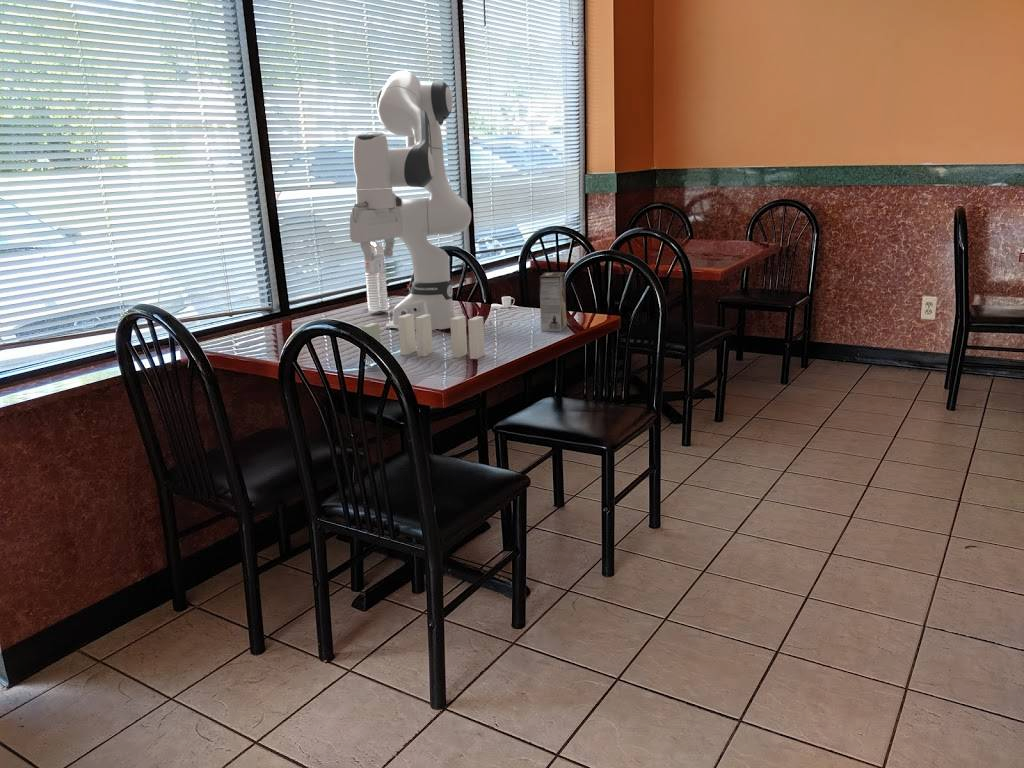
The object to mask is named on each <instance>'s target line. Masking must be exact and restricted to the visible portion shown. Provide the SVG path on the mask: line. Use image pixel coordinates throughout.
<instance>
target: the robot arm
mask: <svg viewBox="0 0 1024 768" xmlns="http://www.w3.org/2000/svg"><path fill="white" fill-rule="evenodd" d="M375 98H376V101H375V102H376V104H375V106H376V110H377V116H378V119H379V122H380V123H381V125H382V126H383V127H384V128H385V129H386V130H387V131H389V132H390V133H392V134H394V135H396V136H403V137H404V136H405V146H394V147H393V146H392V147H391V146H389V144H388V139H387V135H386V134H385V133H384V132H379V131H369V132H362V133H358V134H357V135H356V136H355V137H354V139H353V152H352V153H353V154H352V155H353V172H354V175H355V178H356V182H355V183H356V184H355V199H356V202H355V203H354V205H353V207H352V208H351V212H350V215H349V238H350V241H351V243H354V244H359V243H360V249H361V250H362V253H364V254H363V257H365V260H366V261H371V260H374V253H372V251H371V248H370V246H371V241H376V242H377V241H381V240H383V241H384V243H385V245H384V246H385V247H384V248H385V249H384V258H390V257H393V256H394V246H395V243H396V242H395V238H398V239H400V240H401V242H403V244H404V246H406V248H407V250H408V252H409V254H410V258H411V263H412V269H413V272H412V273H413V281H412V282H411V283H409V284H406V286H407V287H406V289H408V290H409V294H408V295H406V296H405V297H404V298H403V299H402V300H401V301H399V302H398V303H397V304H396V305H395V306H394V308H393V311H392V320H391V321H389V322H387V323H386V324H385V327H386V326H388V327H397V328H399V326H398V317H400V316H402V315H405V314H414V326H415V330H416V325H415V318H416V317H419V316H421V315H424V314H427V315H431V328H432V331H436V330H435V329H439V330H446V329H451V326H450V319H452V318H454V317H456V314H455V309H454V304H453V284H452V283H453V282H452V279H451V273H450V271H451V269H450V258H449V254H448V253H447V252H446V251H445V250H444V249H442V248H441V247H439V246H437V245H434V244H432V243H430V241H429V240H428V236H438V235H452V234H456V233H461V232H465V231H466V230H467V229H468V228H469V226H470V224H471V221H472V211H471V210H472V209H471V207H470V206H469V204H468V202H467V201H466V200H465V199H463V198H462V197H461V196H459V194H457V193H456V192H455V191H454V189H453V188H452V187H451V184H450V182H449V181H448V177H447V173H446V169H445V159H444V145H443V137H442V130H441V126H442V125H443V124H444V121H445V120H447V119H448V118H449V116H450V114H451V113H452V109H453V104H454V101H453V100H454V99H453V94H452V92H451V89H450V86H449V85H448V84H447V83H446V82H445V81H441V80H440V81H439V80H432V81H429V80H428V81H427V80H426V81H424V80H423V81H421V80H420V79H419V78H418V76H417V75H416V74H414V73H413V72H410V71H407V70H399V71H396V72H394V73H393V74H391V75H390V77H389V78H388V80H387V81H386V83H385V84H384V86H383V87H382V88H380V89H379V91H378V92H377V93H376V97H375ZM395 187H396V188H398V187H399V188H401V187H413V188H423V189H425V190H427V191H428V192H429V197H421V198H404V199H403V198H401V197H399V196H398V195H397V194H395V193H394V192H393V188H395Z"/></svg>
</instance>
